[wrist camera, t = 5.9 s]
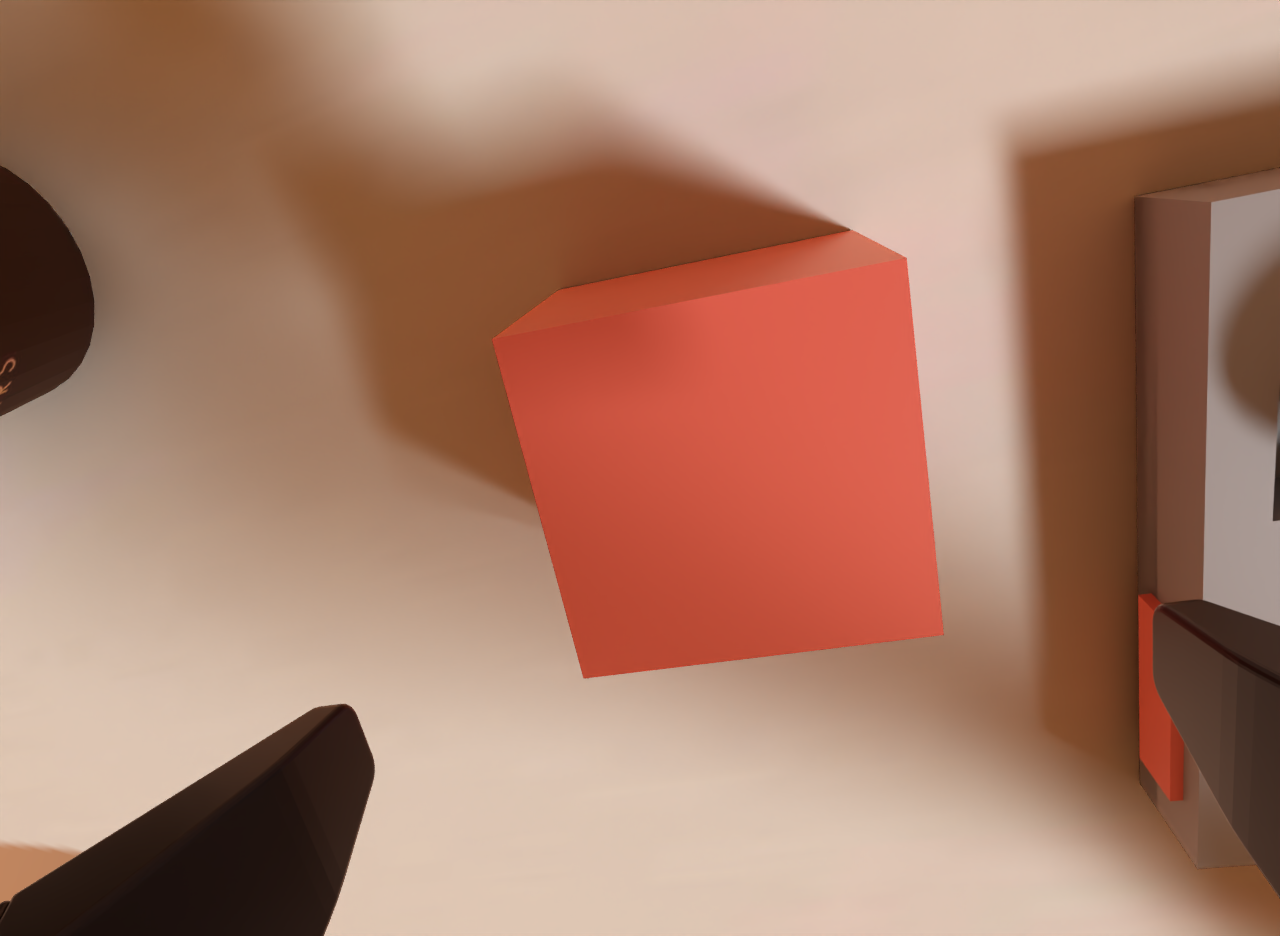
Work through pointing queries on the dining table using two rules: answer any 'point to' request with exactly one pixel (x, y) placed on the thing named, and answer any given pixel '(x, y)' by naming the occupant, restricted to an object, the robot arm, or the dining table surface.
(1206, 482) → the switch box
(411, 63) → the dining table surface
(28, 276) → the coffee mug
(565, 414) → the cap
